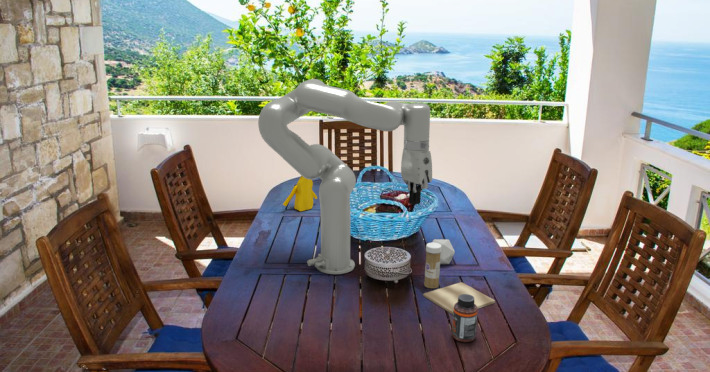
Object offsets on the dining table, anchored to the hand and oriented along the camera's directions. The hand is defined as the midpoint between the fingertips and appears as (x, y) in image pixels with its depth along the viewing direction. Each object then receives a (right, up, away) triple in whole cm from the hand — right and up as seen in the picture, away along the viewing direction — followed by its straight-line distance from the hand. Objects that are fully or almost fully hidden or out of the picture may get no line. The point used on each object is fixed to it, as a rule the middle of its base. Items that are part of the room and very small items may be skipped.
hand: (414, 203), depth 177 cm
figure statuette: (-40, -5, +66) cm, 78 cm away
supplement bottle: (+9, -34, -29) cm, 46 cm away
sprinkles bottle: (+5, -25, -1) cm, 26 cm away
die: (+10, -20, +15) cm, 28 cm away
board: (+12, -28, -10) cm, 32 cm away
